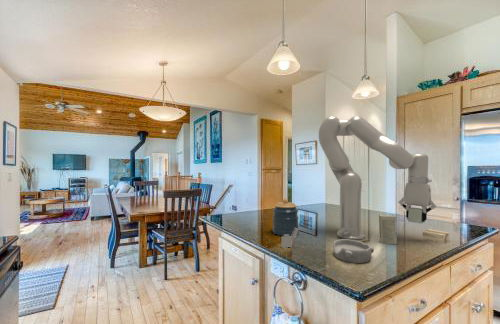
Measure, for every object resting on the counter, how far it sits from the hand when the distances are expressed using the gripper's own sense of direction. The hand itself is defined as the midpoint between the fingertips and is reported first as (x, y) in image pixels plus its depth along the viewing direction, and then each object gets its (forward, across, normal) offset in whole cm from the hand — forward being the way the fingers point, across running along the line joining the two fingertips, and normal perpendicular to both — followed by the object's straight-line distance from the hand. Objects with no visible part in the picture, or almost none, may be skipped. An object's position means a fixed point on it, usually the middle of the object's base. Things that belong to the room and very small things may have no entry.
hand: (416, 220), depth 115 cm
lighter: (+12, +34, +49) cm, 61 cm away
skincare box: (+10, +8, +12) cm, 18 cm away
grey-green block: (+1, 0, 0) cm, 1 cm away
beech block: (+9, -6, -9) cm, 14 cm away
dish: (+11, +11, +41) cm, 44 cm away
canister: (+12, +49, +33) cm, 60 cm away
